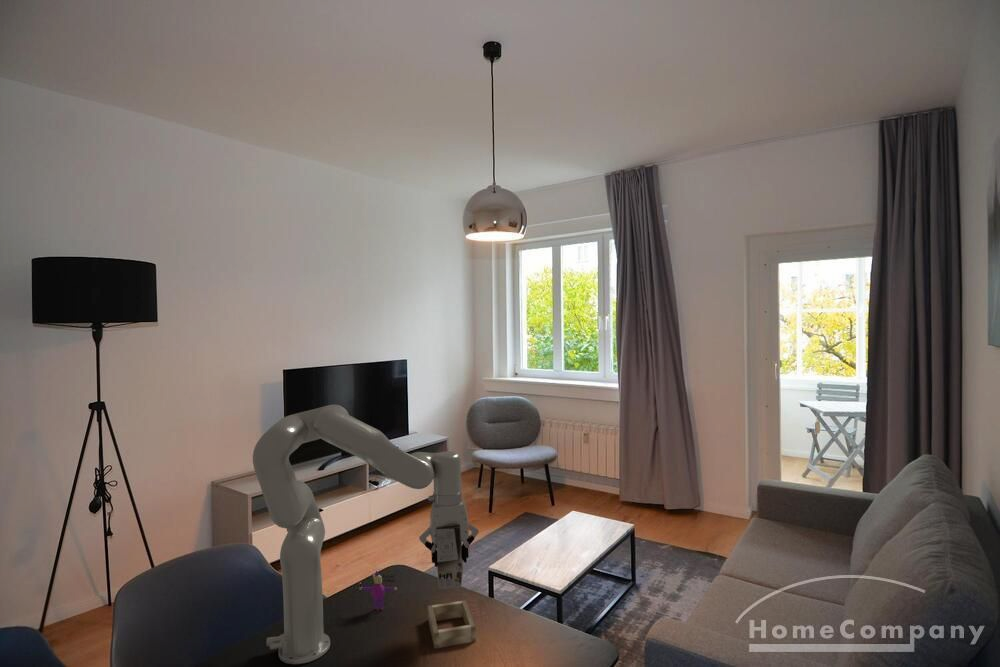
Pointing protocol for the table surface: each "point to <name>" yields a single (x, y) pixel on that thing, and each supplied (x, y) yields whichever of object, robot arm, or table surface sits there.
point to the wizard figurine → (378, 588)
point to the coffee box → (449, 557)
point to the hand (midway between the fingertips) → (450, 562)
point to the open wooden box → (456, 633)
